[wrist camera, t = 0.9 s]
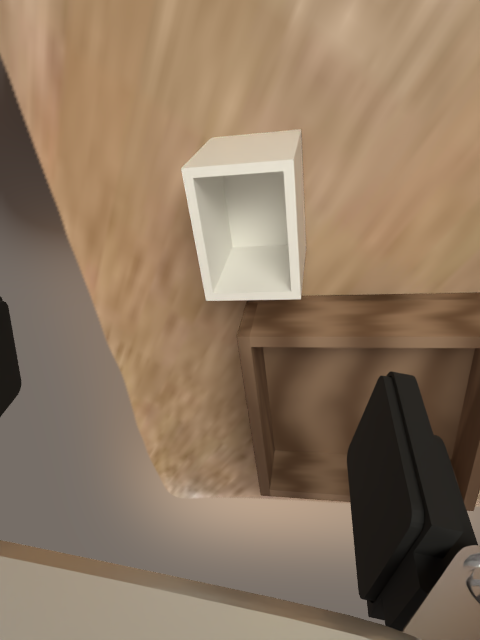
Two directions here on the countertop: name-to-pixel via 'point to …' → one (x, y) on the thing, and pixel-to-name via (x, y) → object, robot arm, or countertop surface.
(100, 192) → the countertop surface
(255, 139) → the box
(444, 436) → the big crate
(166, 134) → the countertop surface
